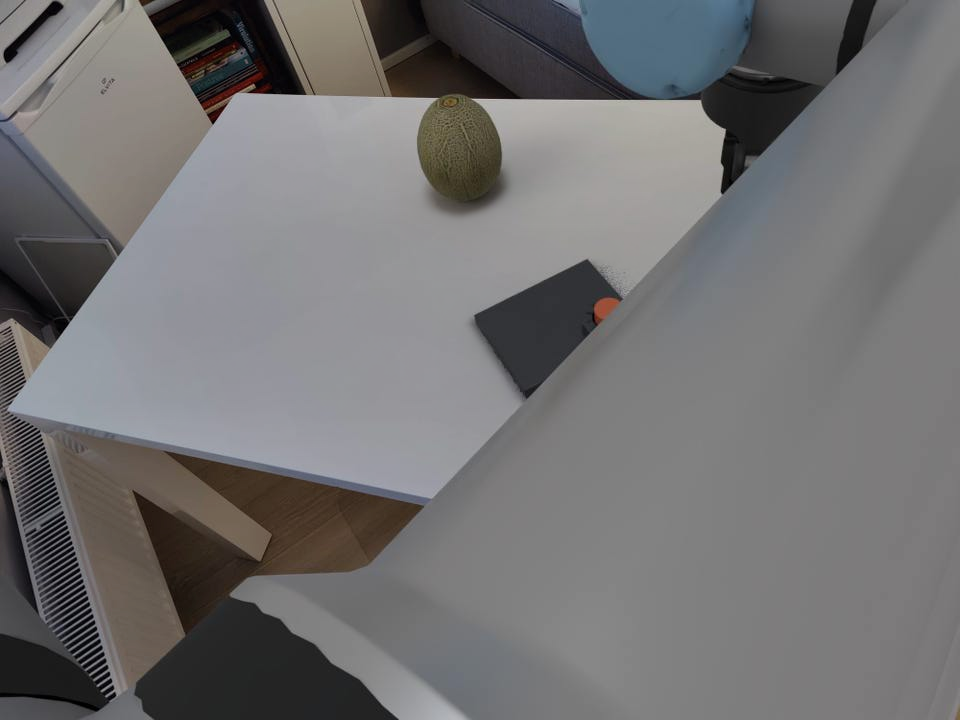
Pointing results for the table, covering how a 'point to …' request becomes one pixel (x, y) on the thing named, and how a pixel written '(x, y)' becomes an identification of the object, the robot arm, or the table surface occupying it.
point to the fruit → (459, 148)
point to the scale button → (604, 308)
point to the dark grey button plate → (544, 323)
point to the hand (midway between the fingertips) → (726, 301)
